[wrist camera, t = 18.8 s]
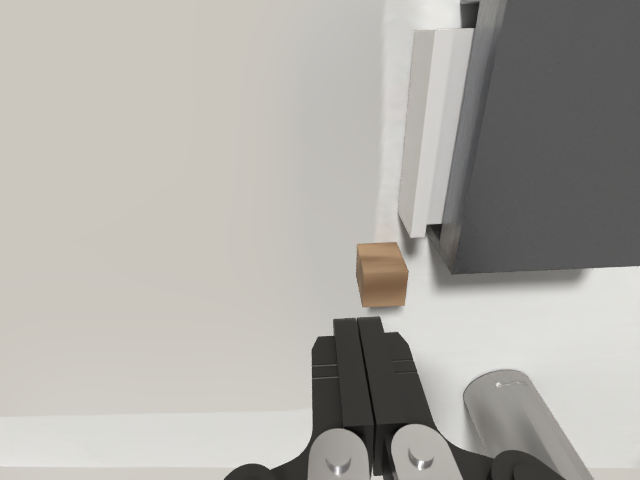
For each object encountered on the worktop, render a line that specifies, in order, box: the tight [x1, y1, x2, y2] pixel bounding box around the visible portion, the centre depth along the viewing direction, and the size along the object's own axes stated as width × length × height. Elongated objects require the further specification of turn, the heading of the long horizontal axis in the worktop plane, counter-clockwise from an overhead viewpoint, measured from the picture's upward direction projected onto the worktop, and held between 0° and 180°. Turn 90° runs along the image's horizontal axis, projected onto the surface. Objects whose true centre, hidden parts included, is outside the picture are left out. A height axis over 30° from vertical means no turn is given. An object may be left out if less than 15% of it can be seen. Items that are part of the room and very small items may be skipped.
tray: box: [398, 28, 475, 238], centre depth 28 cm, size 15×18×5 cm
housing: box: [427, 0, 640, 274], centre depth 27 cm, size 20×16×7 cm
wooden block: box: [356, 242, 409, 307], centre depth 34 cm, size 4×4×5 cm
